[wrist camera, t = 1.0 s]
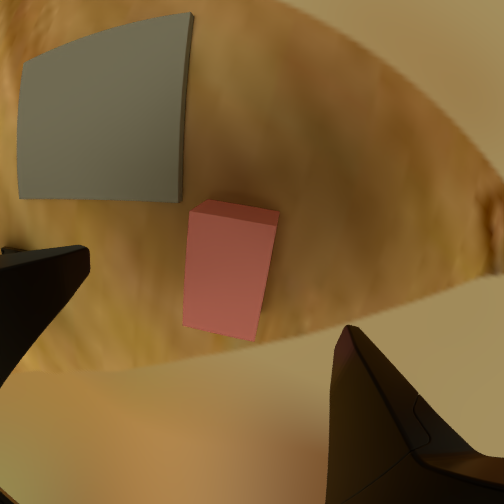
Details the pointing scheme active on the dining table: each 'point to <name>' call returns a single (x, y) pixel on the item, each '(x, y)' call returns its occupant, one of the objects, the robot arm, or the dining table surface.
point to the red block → (227, 267)
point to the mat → (107, 115)
